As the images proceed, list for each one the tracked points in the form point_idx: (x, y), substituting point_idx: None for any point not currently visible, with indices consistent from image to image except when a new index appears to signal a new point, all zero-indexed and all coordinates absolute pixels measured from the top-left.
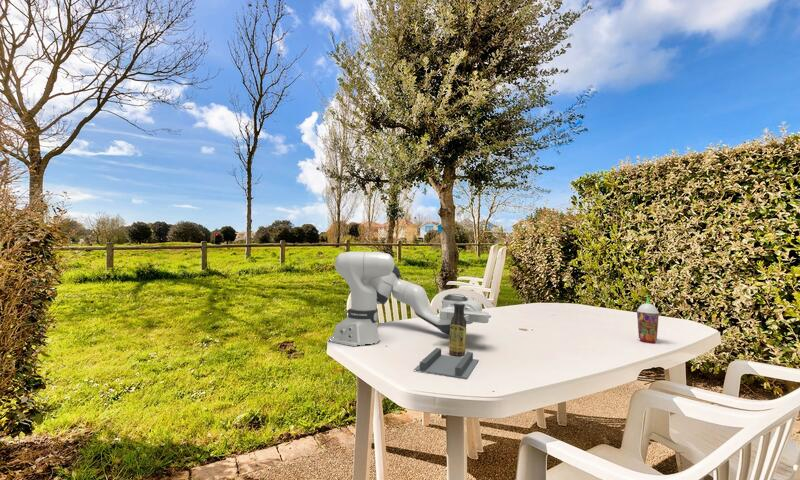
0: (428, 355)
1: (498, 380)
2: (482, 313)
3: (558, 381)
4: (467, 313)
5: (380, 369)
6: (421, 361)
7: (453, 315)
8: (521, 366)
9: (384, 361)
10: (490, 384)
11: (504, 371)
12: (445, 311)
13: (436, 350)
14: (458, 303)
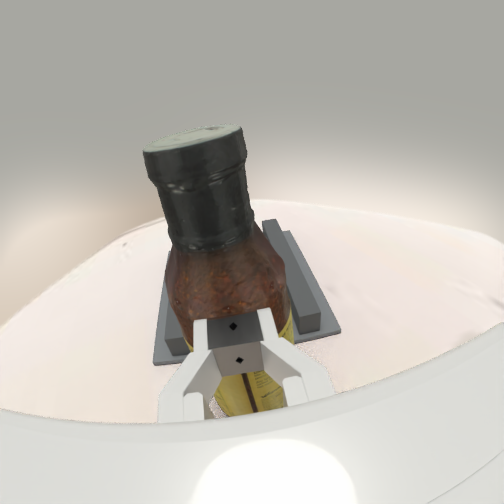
0: (289, 251)
1: (109, 276)
2: (5, 448)
3: (12, 318)
4: (171, 422)
5: (346, 214)
6: (276, 222)
7: (260, 231)
8: (40, 372)
9: (383, 236)
10: (126, 258)
11: (87, 322)
12: (475, 339)
13: (299, 291)
14: (196, 130)
